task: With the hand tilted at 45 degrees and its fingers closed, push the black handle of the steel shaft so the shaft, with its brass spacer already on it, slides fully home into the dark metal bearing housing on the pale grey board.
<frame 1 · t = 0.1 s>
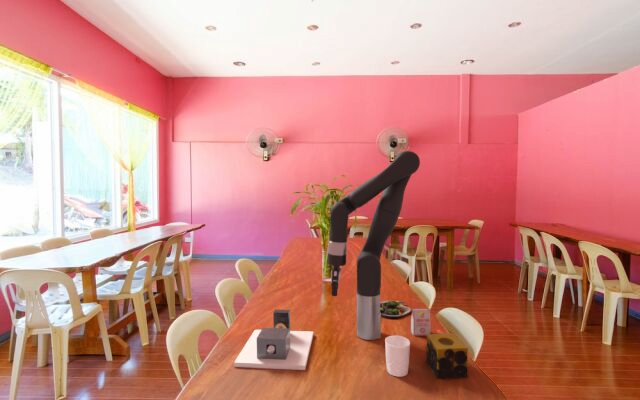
hand: (334, 292, 131), 17 cm above the table, tool pointing down, fingers open, 8 cm apart
base board: (277, 349, 120), on the table
salad plate: (389, 311, 155), on the table
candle: (446, 370, 107), on the table
shaft: (277, 332, 120), point 7 cm above the table, slide at 0.0 cm
white cup: (397, 371, 106), on the table
white cardboard box: (420, 333, 132), on the table
bearing housing: (274, 357, 115), resting on base board
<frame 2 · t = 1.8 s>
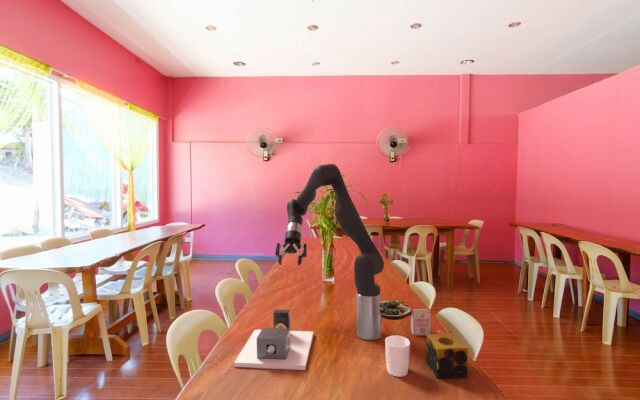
hand: (289, 264, 145), 25 cm above the table, tool tilted 45°, fingers open, 8 cm apart
nothing on the table moved.
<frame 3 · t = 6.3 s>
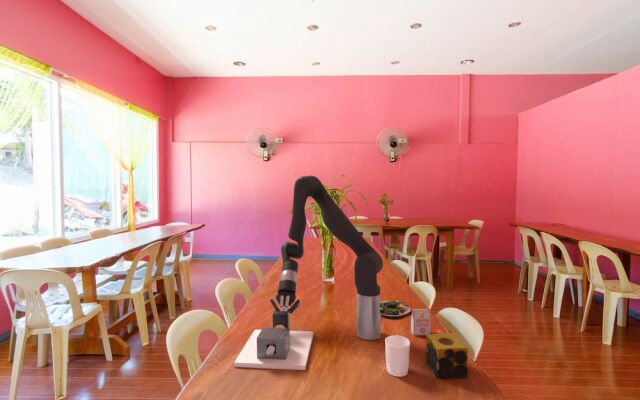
hand: (282, 323, 129), 6 cm above the table, tool tilted 45°, fingers closed
shaft: (276, 334, 118), point 7 cm above the table, slide at 1.4 cm, touching gripper
everything else where it was.
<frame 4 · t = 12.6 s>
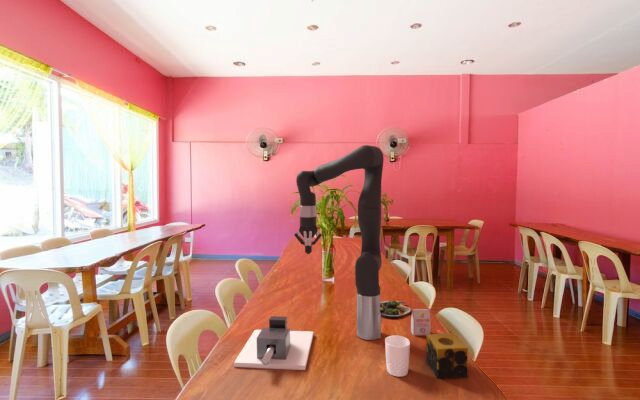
hand: (308, 253, 147), 29 cm above the table, tool pointing down, fingers closed
shaft: (272, 341, 113), point 7 cm above the table, slide at 6.5 cm
everything else where it was.
at the end: shaft slide at 6.5 cm; white cup moved 0.2 cm from its start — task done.
